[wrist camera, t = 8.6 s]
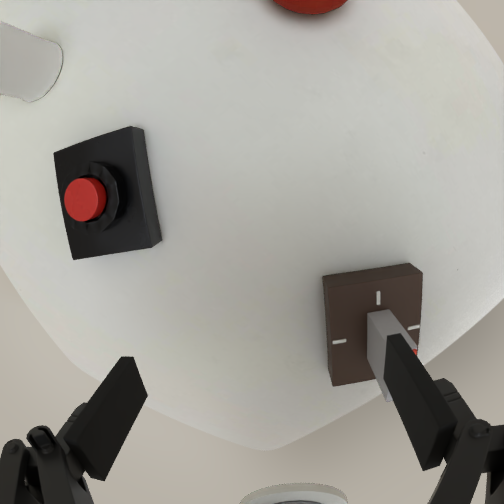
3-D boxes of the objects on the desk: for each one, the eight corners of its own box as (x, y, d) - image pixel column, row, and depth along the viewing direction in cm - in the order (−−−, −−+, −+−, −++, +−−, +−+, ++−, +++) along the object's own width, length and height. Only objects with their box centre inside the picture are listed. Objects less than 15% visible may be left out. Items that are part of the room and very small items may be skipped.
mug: (1, 116, 30) (-62, 112, 18) (6, 63, 28) (-52, 49, 16) (61, 90, 29) (-7, 72, 17) (65, 32, 27) (7, 2, 15)
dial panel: (405, 354, 34) (415, 370, 31) (328, 369, 35) (332, 387, 32) (409, 262, 31) (423, 272, 28) (322, 275, 32) (328, 288, 29)
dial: (387, 354, 30) (411, 398, 23) (366, 358, 31) (386, 404, 23) (389, 308, 29) (418, 347, 22) (367, 312, 29) (392, 353, 22)
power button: (110, 214, 27) (101, 217, 26) (78, 221, 28) (68, 224, 26) (103, 173, 26) (93, 173, 25) (71, 182, 27) (61, 183, 25)
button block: (162, 240, 33) (144, 252, 28) (87, 253, 34) (63, 264, 29) (143, 129, 30) (122, 123, 25) (69, 153, 31) (43, 152, 26)
